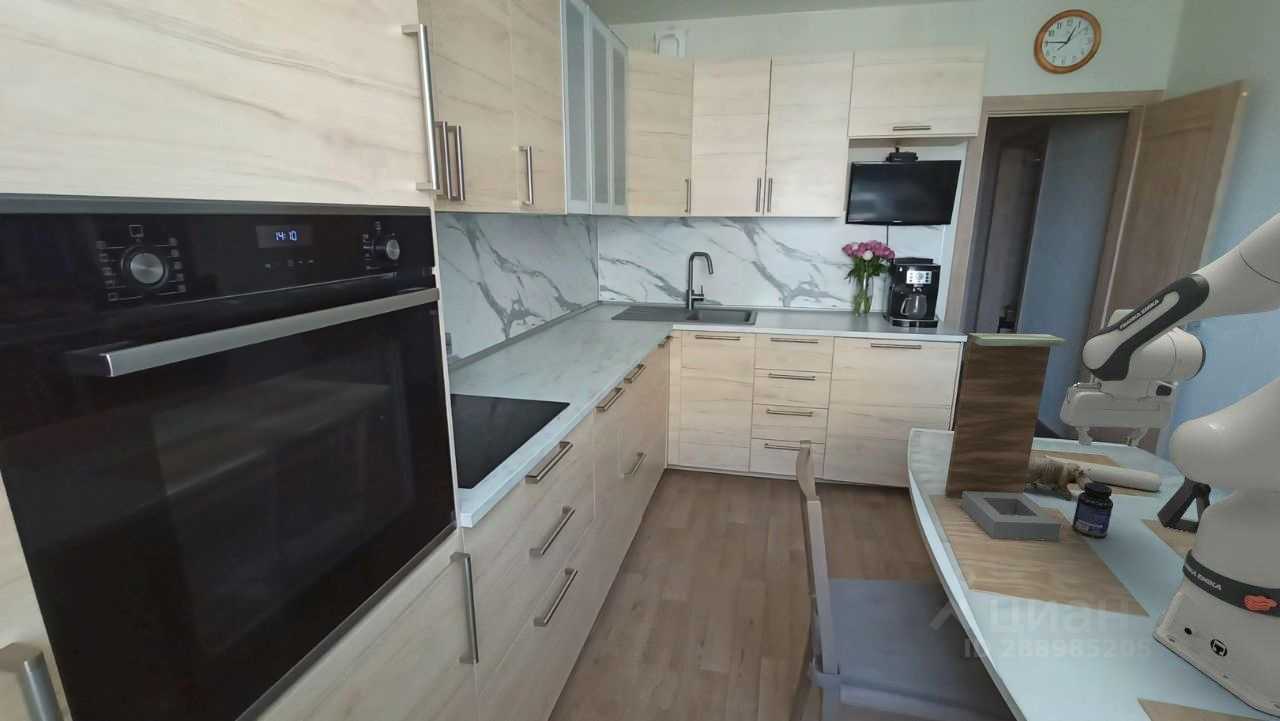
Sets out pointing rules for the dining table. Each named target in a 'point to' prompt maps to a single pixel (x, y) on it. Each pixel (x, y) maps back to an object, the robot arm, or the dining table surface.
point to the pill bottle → (1093, 511)
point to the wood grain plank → (998, 411)
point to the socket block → (1010, 516)
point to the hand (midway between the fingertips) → (1107, 445)
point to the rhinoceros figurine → (1055, 475)
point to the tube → (1117, 475)
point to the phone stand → (1185, 505)
